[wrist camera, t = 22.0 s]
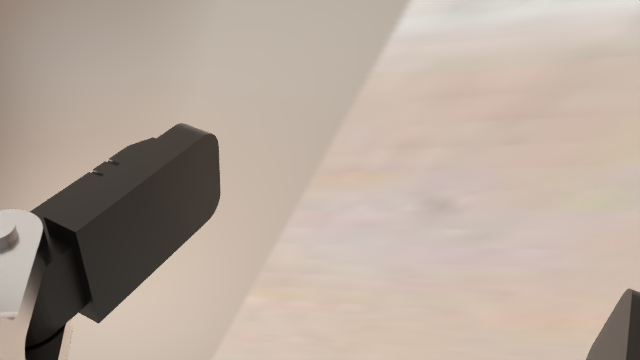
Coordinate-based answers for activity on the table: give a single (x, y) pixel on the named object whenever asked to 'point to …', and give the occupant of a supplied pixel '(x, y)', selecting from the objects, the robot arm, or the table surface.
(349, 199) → the table surface
